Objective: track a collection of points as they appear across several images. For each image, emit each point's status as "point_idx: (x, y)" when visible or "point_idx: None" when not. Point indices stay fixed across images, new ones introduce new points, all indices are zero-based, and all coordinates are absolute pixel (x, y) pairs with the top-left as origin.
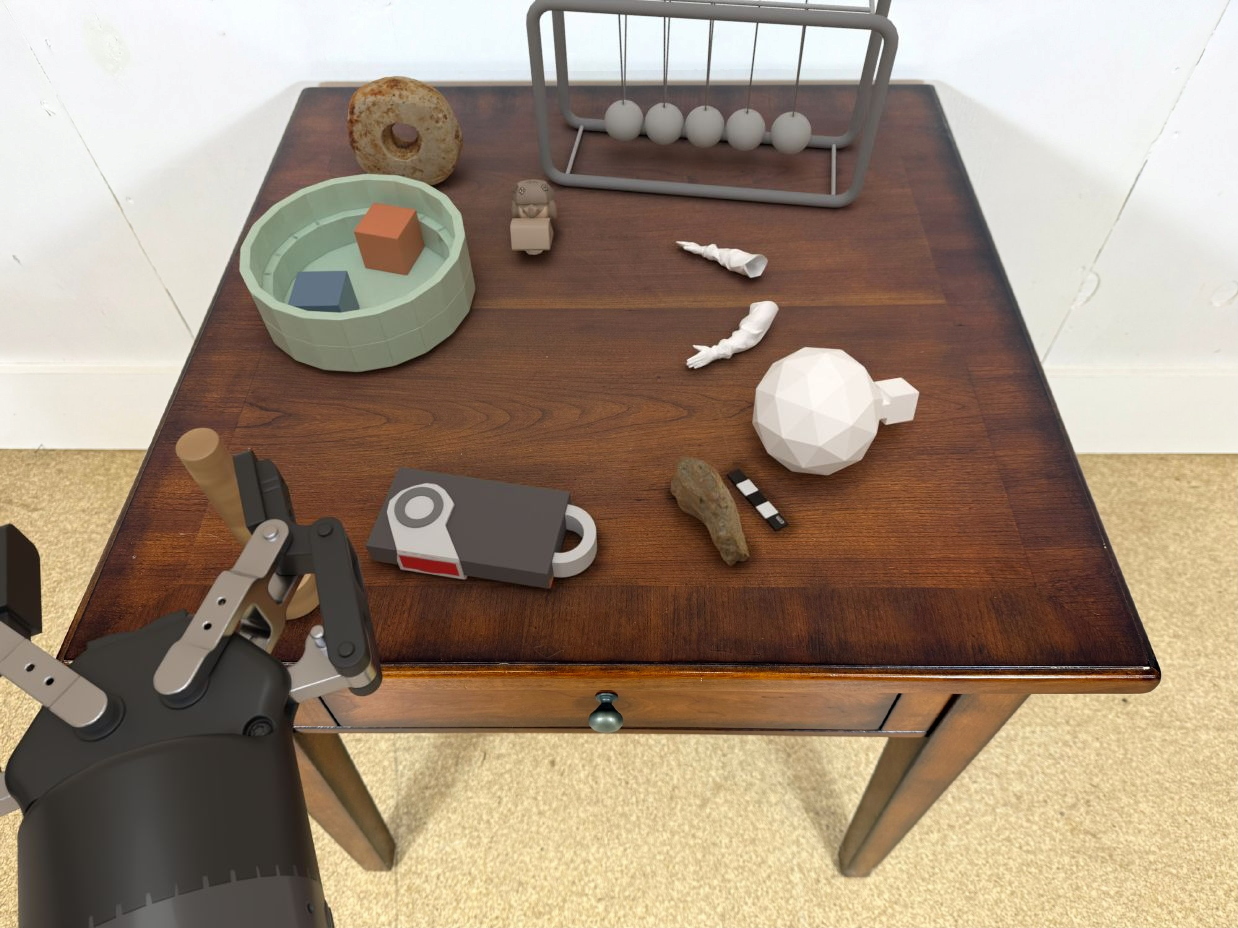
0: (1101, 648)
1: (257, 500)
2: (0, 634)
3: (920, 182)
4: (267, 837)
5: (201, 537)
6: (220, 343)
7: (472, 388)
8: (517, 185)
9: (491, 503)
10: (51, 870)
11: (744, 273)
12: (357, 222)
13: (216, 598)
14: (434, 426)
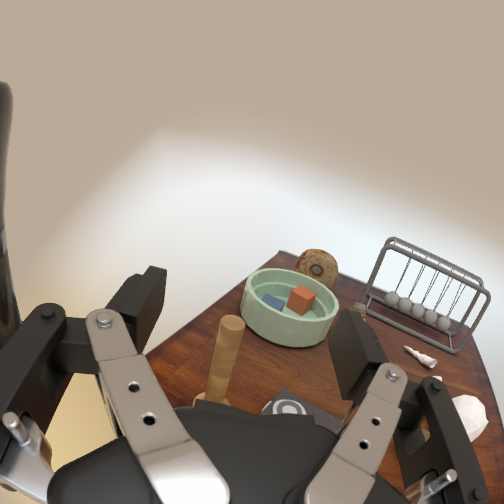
0: None
1: (373, 345)
2: (119, 336)
3: (472, 354)
4: None
5: (178, 372)
6: (219, 305)
7: (317, 369)
8: (355, 302)
9: (324, 423)
10: None
11: (427, 365)
12: (290, 289)
13: (370, 416)
14: (297, 378)
